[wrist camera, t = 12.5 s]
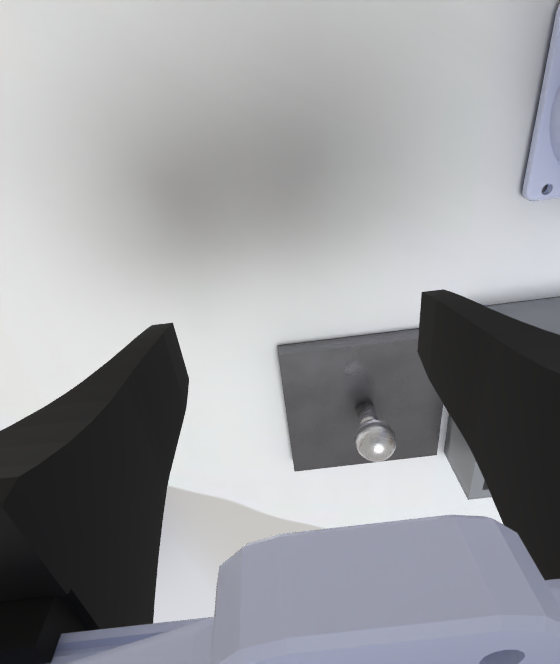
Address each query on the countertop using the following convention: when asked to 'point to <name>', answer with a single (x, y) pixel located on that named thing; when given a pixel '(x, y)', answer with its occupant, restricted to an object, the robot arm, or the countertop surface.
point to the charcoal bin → (539, 313)
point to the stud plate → (358, 400)
